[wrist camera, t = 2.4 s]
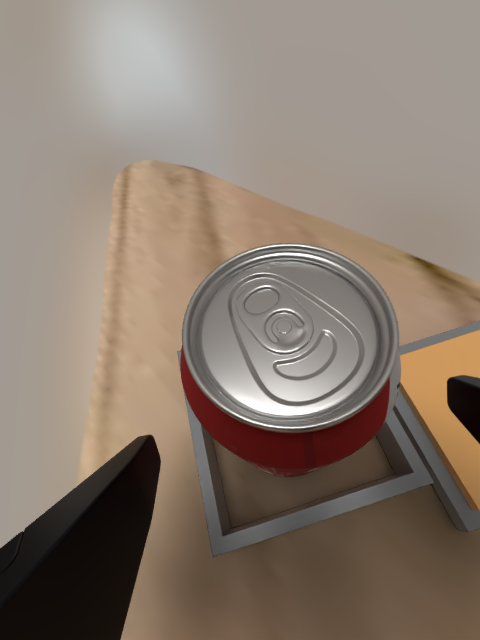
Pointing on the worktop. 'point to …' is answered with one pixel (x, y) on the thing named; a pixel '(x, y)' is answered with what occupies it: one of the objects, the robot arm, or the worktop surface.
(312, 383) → the soda can
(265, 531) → the case
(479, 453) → the lid
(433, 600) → the worktop surface
